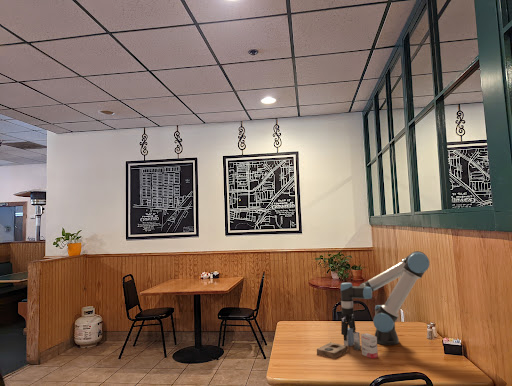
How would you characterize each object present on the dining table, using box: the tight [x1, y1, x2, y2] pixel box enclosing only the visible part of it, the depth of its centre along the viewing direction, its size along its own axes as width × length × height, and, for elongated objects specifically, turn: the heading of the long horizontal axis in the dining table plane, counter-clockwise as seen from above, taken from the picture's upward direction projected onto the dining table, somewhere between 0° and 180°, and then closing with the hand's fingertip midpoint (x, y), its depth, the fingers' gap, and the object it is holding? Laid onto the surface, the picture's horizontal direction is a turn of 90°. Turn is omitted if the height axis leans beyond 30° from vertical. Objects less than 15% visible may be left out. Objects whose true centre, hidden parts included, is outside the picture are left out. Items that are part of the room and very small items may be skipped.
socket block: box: [316, 342, 349, 359], centre depth 222 cm, size 12×16×3 cm
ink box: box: [360, 333, 379, 360], centre depth 215 cm, size 8×5×12 cm, turn 26°
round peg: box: [353, 331, 361, 351], centre depth 227 cm, size 4×4×10 cm
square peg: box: [347, 327, 354, 347], centre depth 236 cm, size 4×4×10 cm
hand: (349, 343), depth 236 cm, fingers open, 7 cm apart
